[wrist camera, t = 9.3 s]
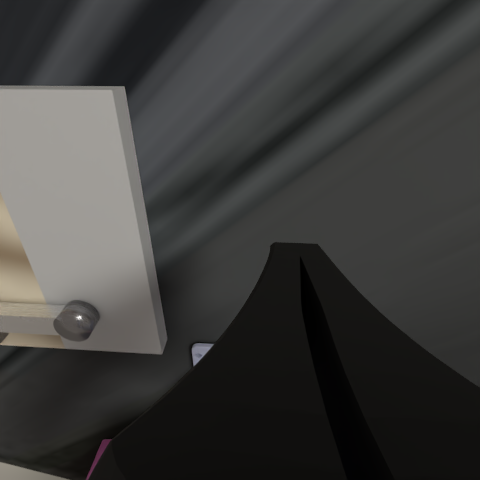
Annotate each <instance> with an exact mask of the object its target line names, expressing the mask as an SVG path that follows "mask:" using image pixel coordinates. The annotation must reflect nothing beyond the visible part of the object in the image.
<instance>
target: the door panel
mask: <svg viewBox="0 0 480 480" xmlns="http://www.w3.org/2000/svg"><path fill="white" fill-rule="evenodd" d="M0 302H10V303H31V304H47V303H46V301H45V298H44V296H43V294H42V291H41V289H40V286H39V284H38V282H37V279H36V277H35V274H34V272H33V270H32V267H31V265H30V262H29V260H28V258H27V255H26V253H25V250H24V248H23V245H22V243H21V241H20V238H19V236H18V233H17V231H16V229H15V226H14V224H13V221H12V219H11V217H10V214H9V212H8V209H7V207H6V205H5V202H4V200H3V197H2V195H1V193H0ZM0 345H11V346H28V347H45V348H61V349H65V347H64V344H63V342H62V339H61V337H60V335H43V334H24V333H9V334H8V335H7V337H6V338H5V339H4V340H3V341H2V342H1V343H0Z"/></svg>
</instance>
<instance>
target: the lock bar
mask: <svg viewBox="0 0 480 480" xmlns="http://www.w3.org/2000/svg"><path fill="white" fill-rule="evenodd" d="M99 319H100V315H99V312H98V311H97V309H96V308H95V307H94V306H92V305H91V304H89V303H87V302H84V301H80V300H73V301H70V302H68V303H67V304H66V305H52V304H31V303H10V302H0V332H6V333H24V334H43V335H60V336H62V337H63V338H65V339H68V340H70V341H75V342H81V341H85V340H87V339H88V338H89V336H90V335H91V333H92V331H93V330H94V328H95V326H96V325H97V323H98V322H99Z"/></svg>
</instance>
